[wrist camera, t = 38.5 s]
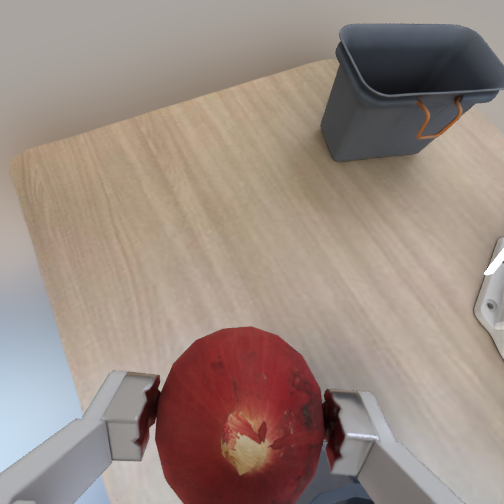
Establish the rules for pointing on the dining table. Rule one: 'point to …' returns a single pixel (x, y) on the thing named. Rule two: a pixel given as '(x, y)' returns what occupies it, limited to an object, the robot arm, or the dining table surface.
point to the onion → (240, 421)
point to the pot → (333, 487)
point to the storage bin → (404, 86)
